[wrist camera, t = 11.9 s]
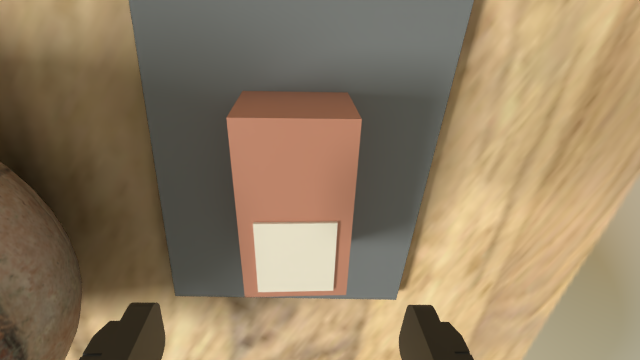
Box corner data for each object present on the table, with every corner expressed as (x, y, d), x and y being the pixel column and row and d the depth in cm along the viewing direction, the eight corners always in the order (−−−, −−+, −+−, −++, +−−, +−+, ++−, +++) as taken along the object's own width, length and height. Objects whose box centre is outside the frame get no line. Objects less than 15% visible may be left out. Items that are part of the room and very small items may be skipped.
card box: (242, 90, 18) (225, 118, 14) (348, 92, 18) (362, 120, 14) (254, 244, 22) (244, 299, 18) (337, 243, 23) (346, 297, 19)
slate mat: (178, 287, 25) (175, 295, 24) (130, -36, 15) (122, -38, 15) (393, 291, 26) (395, 299, 25) (467, -3, 17) (474, -3, 16)
